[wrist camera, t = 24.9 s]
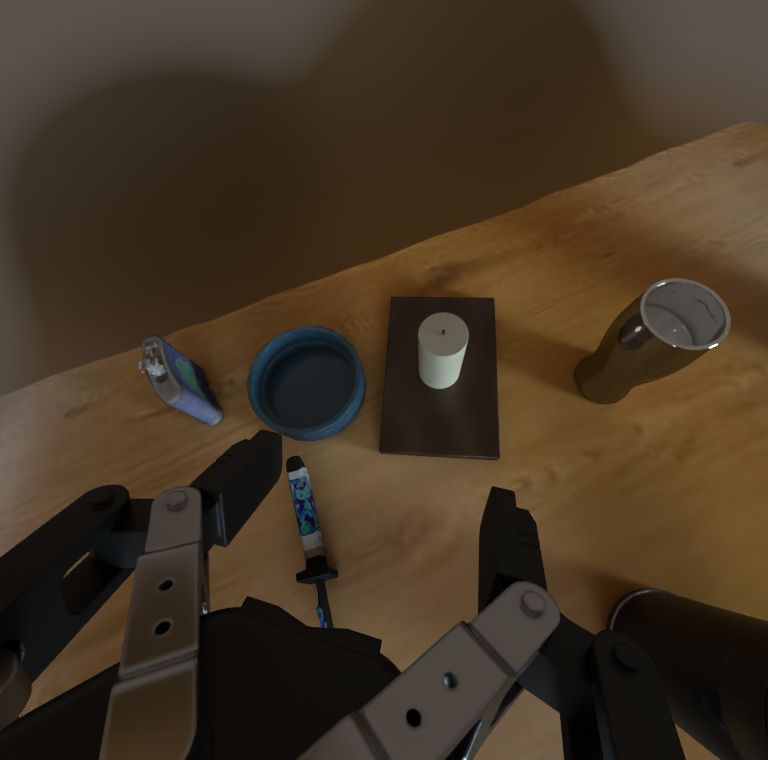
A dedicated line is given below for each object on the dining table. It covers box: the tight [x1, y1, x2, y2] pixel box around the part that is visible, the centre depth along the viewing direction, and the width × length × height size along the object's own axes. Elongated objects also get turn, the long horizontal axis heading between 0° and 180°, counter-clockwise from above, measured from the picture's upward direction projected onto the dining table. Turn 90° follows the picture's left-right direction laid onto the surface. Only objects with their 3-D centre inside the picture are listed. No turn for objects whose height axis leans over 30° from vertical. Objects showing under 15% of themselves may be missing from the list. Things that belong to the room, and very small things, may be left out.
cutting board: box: [379, 297, 500, 460], centre depth 45 cm, size 13×20×2 cm, turn 176°
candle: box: [418, 312, 469, 389], centre depth 40 cm, size 5×5×10 cm
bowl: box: [247, 326, 366, 441], centre depth 45 cm, size 13×13×4 cm
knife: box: [286, 456, 338, 628], centre depth 36 cm, size 31×3×4 cm, turn 11°
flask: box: [137, 335, 223, 425], centre depth 43 cm, size 9×3×11 cm, turn 32°
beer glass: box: [574, 278, 731, 404], centre depth 37 cm, size 7×7×15 cm
